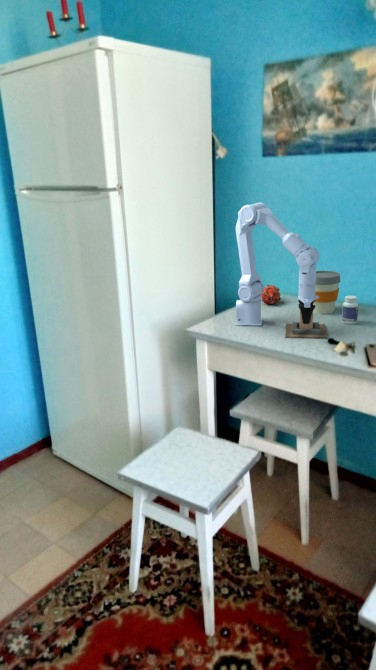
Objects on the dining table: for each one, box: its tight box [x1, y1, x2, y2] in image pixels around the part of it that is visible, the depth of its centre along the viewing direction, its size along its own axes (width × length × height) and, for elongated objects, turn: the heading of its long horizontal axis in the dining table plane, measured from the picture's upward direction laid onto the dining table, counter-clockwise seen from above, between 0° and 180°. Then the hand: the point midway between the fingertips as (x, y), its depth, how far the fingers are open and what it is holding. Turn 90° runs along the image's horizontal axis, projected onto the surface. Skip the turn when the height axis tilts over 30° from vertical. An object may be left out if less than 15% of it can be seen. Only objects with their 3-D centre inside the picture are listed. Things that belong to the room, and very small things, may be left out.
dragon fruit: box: [261, 284, 282, 306], centre depth 206 cm, size 8×8×12 cm
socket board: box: [284, 321, 328, 340], centre depth 172 cm, size 14×14×2 cm
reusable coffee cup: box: [313, 270, 341, 315], centre depth 191 cm, size 13×13×15 cm
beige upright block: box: [299, 310, 314, 329], centre depth 171 cm, size 4×4×7 cm
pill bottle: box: [341, 295, 359, 325], centre depth 177 cm, size 5×5×10 cm
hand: (306, 321), depth 171 cm, fingers closed on beige upright block, 4 cm apart
